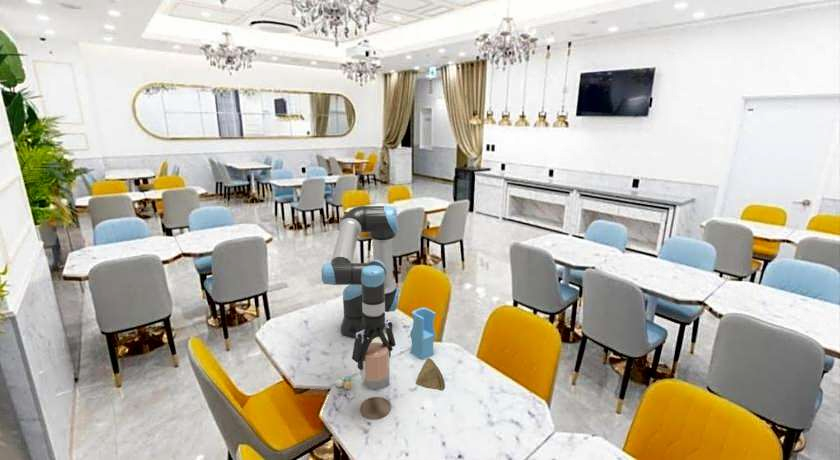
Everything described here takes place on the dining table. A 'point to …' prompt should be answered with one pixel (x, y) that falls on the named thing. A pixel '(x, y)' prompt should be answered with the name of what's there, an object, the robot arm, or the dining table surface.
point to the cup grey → (378, 383)
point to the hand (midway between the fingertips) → (374, 371)
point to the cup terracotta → (376, 362)
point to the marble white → (339, 383)
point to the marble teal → (347, 378)
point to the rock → (430, 376)
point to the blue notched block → (422, 333)
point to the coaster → (375, 408)
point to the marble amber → (347, 385)
